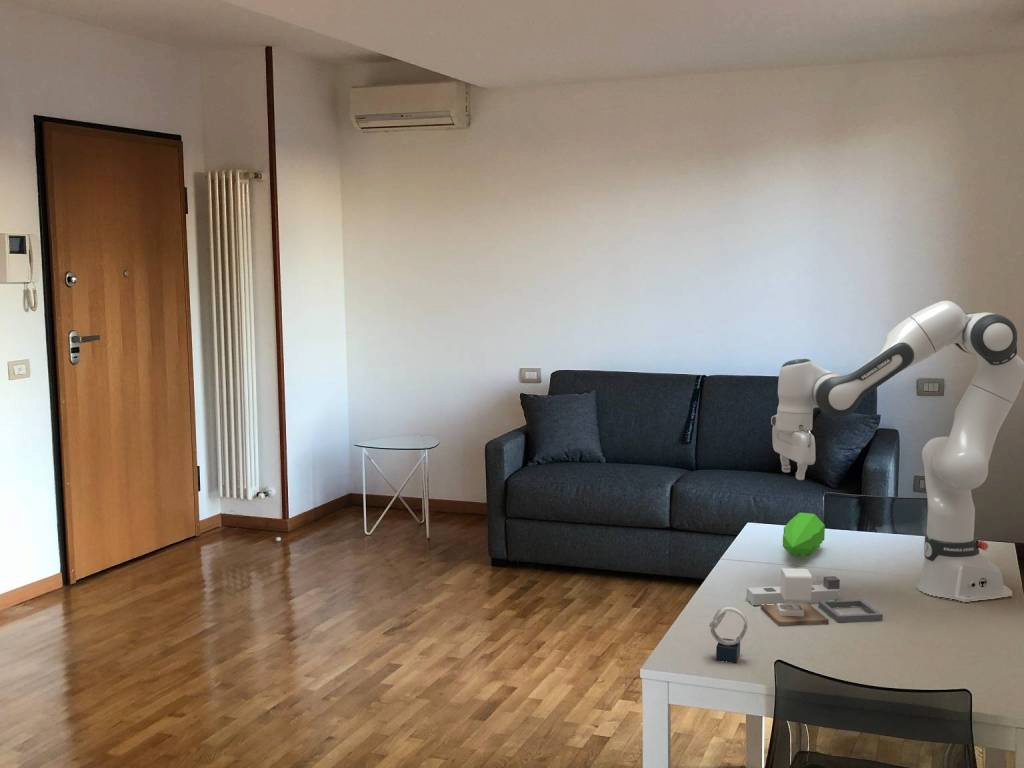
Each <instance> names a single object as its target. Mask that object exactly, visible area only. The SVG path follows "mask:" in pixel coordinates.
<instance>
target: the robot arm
mask: <svg viewBox="0 0 1024 768" xmlns="http://www.w3.org/2000/svg"><path fill="white" fill-rule="evenodd" d="M1017 342H1018V331H1017V328H1016V326H1015V324H1014V323H1013V321H1011V320H1010V319H1009V318H1007V317H1006V316H1003V315H1001V314H997V313H995V312H994V313H992V312H986V311H984V312H969V313H968V312H967V313H965V312H964V310H963V309H962V308H961V307H960V306H959V305H958V304H957V303H955V302H953V301H951V300H941V301H937V302H936V303H933V304H931V305H928V306H926V307H924V308H922V309H921V310H918V311H916V312H915V313H913V314H911V315H910V316H908V317H907V318H905V319H904V320H902V321H901V322H899V323H898V324H897V325H895V326H894V327H893V328H892V329H891V330H890V331H889V332H888V333H887V334H886V337H885V341H884V346H883V347H882V349H881V350H880V352H879V353H878V354H877V355H875V356H874V357H873V358H872V359H869V360H868V361H867V362H866V363H864V364H862V365H861V366H859V367H858V368H857V369H855V370H854V371H852V372H851V373H848V374H843V375H842V374H840V373H837V372H834V371H831V370H828V369H826V368H824V367H822V366H819V365H818V364H816V363H815V362H813V361H812V360H811V359H809V358H798V359H797V358H796V359H792V360H788V361H786V362H785V363H783V364H782V366H781V367H780V370H779V374H778V383H777V398H778V406H777V409H776V410H777V411H776V412H777V413H776V414H775V415H772V416H771V418H770V424H771V425H772V431H771V432H772V436H771V437H772V448H773V450H774V452H775V453H778V454H779V459H780V463H781V471H782V472H783V473H790V472H791V465H790V460H792V461H793V462H796V465H797V471H796V472H795V478H796V479H797V480H798V481H803V480H805V476H806V471H807V470H808V466H812V465H815V462H816V440H815V439H816V438H815V436H814V435H813V434H812V433H811V431H812V430H813V421H814V419H813V418H814V409H815V408H816V409H817V408H818V409H819V410H820V411H821V412H822V413H823V414H824V415H825V416H827V417H830V418H836V419H841V418H844V417H848V416H849V415H851V414H852V413H853V412H854V411H855V410H856V409H857V408H858V406H859V405H860V404H861V402H862V400H863V399H864V398H865V397H866V396H867V395H869V393H871V392H872V391H874V390H875V389H877V388H878V387H879V386H881V385H883V384H884V383H886V382H887V381H889V380H890V379H891V378H893V377H895V376H896V375H897V374H899V373H900V372H902V371H904V370H907V369H909V368H910V367H913V366H915V365H916V364H918V363H921V362H923V361H924V360H926V359H928V358H930V357H931V356H933V355H934V354H936V353H938V352H939V351H941V350H943V348H945V347H948V346H951V345H953V344H954V345H955V346H956V347H958V348H959V350H961V351H963V352H964V353H967V354H969V355H972V356H974V357H977V361H978V363H977V368H976V371H975V374H974V376H973V377H972V379H971V381H970V383H969V384H968V387H967V388H966V390H965V392H964V394H963V396H962V398H961V399H960V401H959V403H958V405H957V406H956V409H955V411H954V414H953V415H954V417H953V418H954V419H953V424H952V427H951V431H950V434H949V436H938V437H933V438H931V439H929V440H928V441H927V443H926V444H924V446H923V448H922V453H921V458H922V462H923V469H924V481H925V482H924V483H925V489H926V496H927V497H926V498H927V499H926V500H927V520H926V521H927V522H926V534H925V535H924V541H923V543H924V545H923V553H924V554H923V555H924V559H923V560H924V561H923V567H922V571H921V575H920V579H919V582H918V584H917V586H916V587H917V589H918V591H919V592H921V591H922V592H921V593H923V594H925V593H927V594H926V595H928V594H929V596H931V595H933V596H932V597H935V596H938V597H937V598H939V597H945V598H951V599H950V600H952V599H957V600H963V601H971V600H975V599H982V598H988V597H994V596H1002V595H1011V594H1012V595H1013V591H1012V590H1011V589H1010V588H1009V587H1008V586H1007V585H1005V584H1004V580H1003V579H1004V578H1003V575H1002V574H1003V573H1002V572H1001V570H1000V568H999V567H998V566H997V565H995V564H994V562H992V561H990V560H989V559H988V558H986V556H984V555H983V554H981V552H980V550H982V551H987V550H988V549H989V544H988V542H986V541H983V540H979V539H977V538H975V535H974V534H975V518H976V517H975V515H976V507H975V504H974V501H973V496H972V490H975V489H977V488H979V487H981V486H982V485H983V484H984V483H985V481H986V480H987V478H988V475H989V462H990V459H991V454H992V452H993V449H994V445H995V441H996V440H997V439H996V438H997V436H998V433H999V431H1000V429H1001V427H1002V426H1003V423H1004V421H1005V419H1006V417H1008V414H1009V413H1010V410H1011V409H1012V407H1013V404H1014V403H1015V401H1016V399H1017V397H1018V395H1019V393H1020V390H1021V389H1022V386H1023V382H1024V360H1023V359H1022V358H1021V357H1020V356H1019V355H1018V345H1017V344H1018V343H1017ZM1004 589H1007V590H1009V591H1005V590H1004ZM945 598H944V599H945Z"/></svg>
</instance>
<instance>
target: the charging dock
mask: <svg viewBox="0 0 1024 768" xmlns="http://www.w3.org/2000/svg"><path fill="white" fill-rule="evenodd" d="M851 606H860V607H862V608H863V609H864V610H863V609H862V608H861V609H862V610H863V611H864V612H866V613H853V614H852V613H851V614H850V613H849V614H848V613H847V614H840V613H839V612H838V611H836V610H835V609H837V607H844V608H852V607H851ZM860 607H859V608H860ZM818 608H819V609H820V610H822V612H823V613H825V614H827V615H828V616H829V617H830V618H832V619H833V620H834V621H835V622H836V623H856V622H857V621H863V622H879V620H882V621H884V620H883V617H884V616H883V615H884V614H883V613H881V611H878V610H877V609H876V608H875V607H873V606H872V605H870V604H869V602H866V601H865V600H863V599H842V600H840V599H839V600H837V601H834V600H829V601H819V603H818ZM867 612H868V613H867ZM857 623H858V622H857Z"/></svg>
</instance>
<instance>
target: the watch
mask: <svg viewBox="0 0 1024 768" xmlns="http://www.w3.org/2000/svg"><path fill="white" fill-rule="evenodd" d="M727 612H733V613H735V614H737V615H739V616H740V617H741V619H742V620H743V623H744V625H743V629H742V630H741V632H740V633H739V635H738V636H736V638H735V639H733V638H724V637H723V638H722V637H720V636H719V635H718V633H717V632H716V631H715V629H717V628H718V627H719V625H720V623H721V622H722V621H723V618H724V617H725V615H726V614H727ZM748 622H749V621H748V619H747V615H746V614H745V613H744V612H743V611H742V610H741V609H739V608H738V607H736V606H730V605H729V606H728V605H727V606H724V607H722V606H721V607H720V608H719V609H718V610H717V612H716V613H715V614H714V616H713V618H712V619H711V621H710V623H709V628H710V630H709V631H710V634H711V635H712V637H713V639H714V640H715V641H716V642H717V645H716V649H715V652H716V653H715V661H716V662H721V661H724V662H723V663H729V662H733V663H732V664H738V661H739V658H740V654H741V641H742V639H743V638H744V637H745V634H746V632H747V629H748V627H749V625H748ZM737 660H738V661H737ZM726 661H727V662H726Z"/></svg>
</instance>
